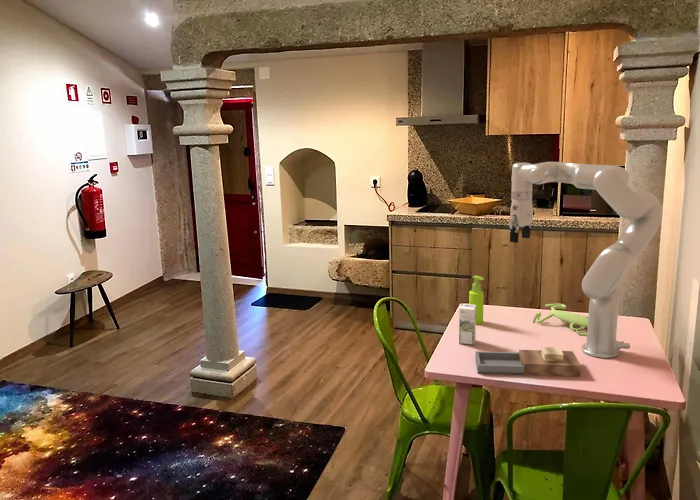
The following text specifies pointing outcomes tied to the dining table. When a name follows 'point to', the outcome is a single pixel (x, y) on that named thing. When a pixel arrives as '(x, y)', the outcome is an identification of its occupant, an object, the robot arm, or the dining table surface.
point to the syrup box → (467, 324)
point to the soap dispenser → (477, 299)
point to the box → (498, 363)
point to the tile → (552, 354)
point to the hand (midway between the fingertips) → (520, 240)
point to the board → (549, 364)
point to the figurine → (565, 317)
